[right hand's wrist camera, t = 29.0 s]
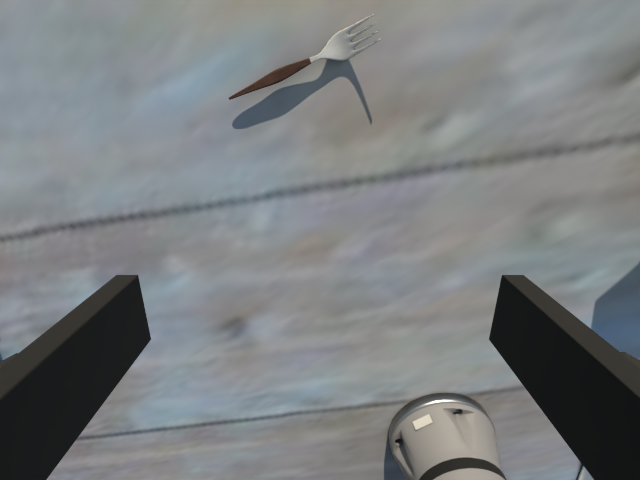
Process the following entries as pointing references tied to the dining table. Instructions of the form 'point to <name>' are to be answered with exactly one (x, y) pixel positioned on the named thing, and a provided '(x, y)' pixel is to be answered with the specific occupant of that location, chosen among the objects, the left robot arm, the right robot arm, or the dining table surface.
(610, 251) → the dining table surface
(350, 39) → the fork
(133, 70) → the dining table surface
